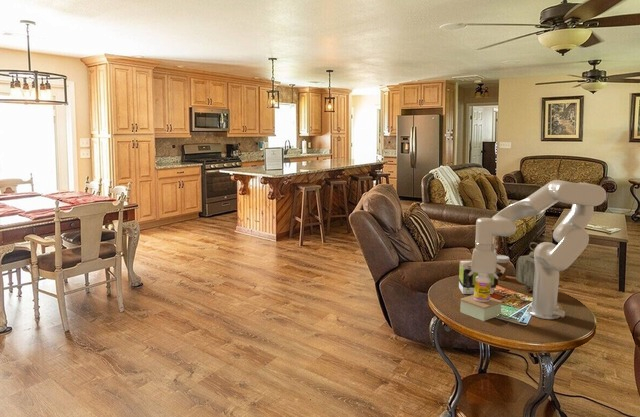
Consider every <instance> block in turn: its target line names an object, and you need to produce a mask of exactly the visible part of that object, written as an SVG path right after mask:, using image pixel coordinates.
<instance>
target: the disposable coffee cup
mask: <svg viewBox="0 0 640 417" xmlns="http://www.w3.org/2000/svg"><path fill="white" fill-rule="evenodd" d="M496 256H497V264H498V265H500V266H502V267H504V268H505V269H506V270H505V272H504V273H503V275H502V276H500V277H499V278H498V281H504V280H506V278H507V273H508V267H509V263H510V260H511V259H510V257H509V256H508V255H504V254H496ZM496 272H497V274H498V273H500V272H501V270H500V269H498V268H497V270H496Z"/></svg>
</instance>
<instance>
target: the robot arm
mask: <svg viewBox="0 0 640 417" xmlns="http://www.w3.org/2000/svg"><path fill="white" fill-rule="evenodd" d="M606 198H607V192H606V190H605V189H604V187H602V186H601V185H598V184H594V183H588V182H577V183H576V182H572V181H571V182H570V181H566V180H561V179H553V180H551V181H549V182H547V183H546V184H544V185H543V186H542V187H540V188H538V189H537V190H536V191H534V192H533V193H532V194H530V195H528V196H527V197H526V198H524V199H521V200H518V201H516V202H514V203H512V204H510V205H507V206H506V207H504V208H503V209H501V210H500V211H498V212H497V213H496V214H494V215H493V216H492V217H491V218H490V217H479V218H477V219H476V220H475V221H476V222H475V242H474V245H475V246H474V247H473V249H472V250H473V251H472V255H471V260H470V261H471V262H468V263H466V264H463V268H464V270H465V272H466V273H467V274H468V275H469V282H470V285H472V284H473V273H474V272H476V273H487V274H493V276H494V277H495V278H494V289H496V287H497V286H499V280H498V278H499V277H500V276H502V275H503V273H504V272H505V270H506V269H505V268H504V267H502V266H500V265H498V264H497V256H496V255H497V251H496V249H498V248H499V245H497V244H495V236H497V237H510V236H511V237H512V236H513V235H514V234H515V233H516V231H517V226H516V223H515V222H516V221H519V220H521V219H524V218H529V217H535V216H538V215H541V214H542V213H543V212H545V211H546V210H548V209H549V208H551V207H552V206H554V205H555V204H557V203H558V202H561V203H565V204H570V205H571V208H570V210H569V212H568V213H567V214H566V215H565V217H564V218H563V219H562V220H561V221H560V223H559V224H558V225H557V226H556V227H555V228H554V231H553V232H552V238H553V240H554V241H555V242H556V243H558V244H555V243H552V242H549V241H543V242H540V243H538V244H539V245H536V247H534V248H535V251H534V262H535V274H534V287H533V289H532V301H531V302H532V303H531V306H529V307H528V308H527V313H528V312H529V313H530V314H529V313H528V314H529V315H530V316H533V317H536V318H538V319H542V320H543V319H544V320H555V319H559V318H564V317H565V316H566V311H564V310H561V309H560V306H559V305H558V295H559V283H560V282H559V281H560V272H563V271H565V270H567V269H568V268H569V267H570V266H572V264H573V263H574V262H575V261H576V260H577V258H578V257H579V256H580V255H581V254H582V253H583V251H585V249H586V248H587V246H588V245H589V241H590V236H589V233H588V231H586V229H585V228H587V226H588V225H589V223H590V222H591V221H592V219H593V215H594V207H597V206H600V205H601V204H603V203H604V202H605V201H606ZM470 265H471V271H470V270H469V269H468V268H467V266H470ZM497 268H498V269H500V270H501V272H500V273H498V274H497V272H496V270H497Z"/></svg>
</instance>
